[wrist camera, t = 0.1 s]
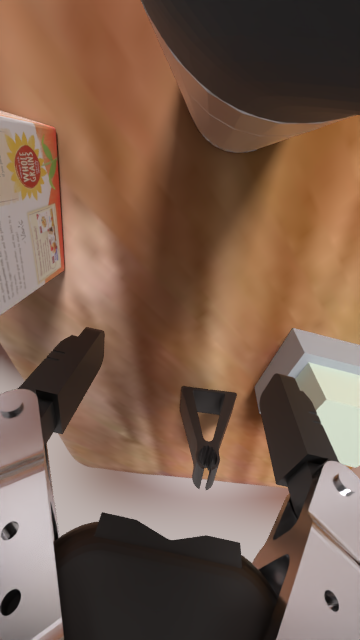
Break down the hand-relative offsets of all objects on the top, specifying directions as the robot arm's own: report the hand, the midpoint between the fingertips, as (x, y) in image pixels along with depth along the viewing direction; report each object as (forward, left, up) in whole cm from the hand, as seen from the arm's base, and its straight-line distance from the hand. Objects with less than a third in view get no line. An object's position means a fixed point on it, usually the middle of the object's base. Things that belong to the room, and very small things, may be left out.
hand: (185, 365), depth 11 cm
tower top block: (+13, +20, -13) cm, 27 cm away
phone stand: (+25, +8, -18) cm, 31 cm away
